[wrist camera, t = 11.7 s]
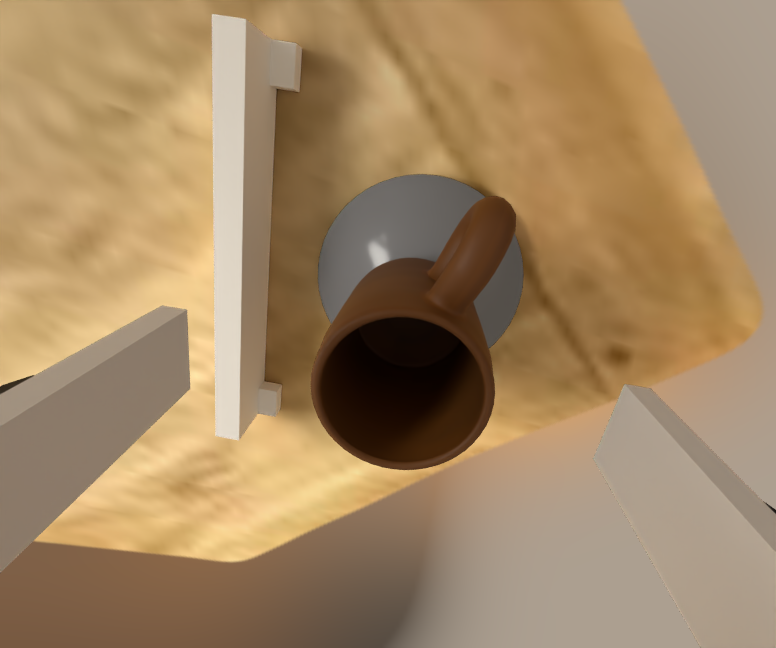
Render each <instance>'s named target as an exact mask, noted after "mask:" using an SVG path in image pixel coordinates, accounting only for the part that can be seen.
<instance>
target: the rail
mask: <svg viewBox="0 0 776 648" xmlns="http://www.w3.org/2000/svg"><path fill="white" fill-rule="evenodd" d="M301 60H302V48H301V47H300V46H299V45H298V44H297V43H293V42H286V41H280V40H273V39H271V38H269V37H268V36H267V35H265V34H264V33H263V32H262V31H260V30H259V29H258V28H257V27H255V26H254V25H253V24H252V23H250V22H249V21H248V20H247V19H243V18H236V17H229V16H223V15H216V14H212V92H213V201H214V311H215V420H216V436H218V437H224V438H229V439H234V440H240V438H241V437H242V435H243V434H244V433H245V431H246V430H247V428H248V427H249V425H250V424H251V423H252V421H253V420H254V418H255V417H256V415H257V414H264V415H269V416H275V417H276V415H277V414H278V412H279V410H280V409H281V392H282V384H277V383H271V382H266V381H264V379H265V355H266V331H267V308H268V284H269V260H270V236H271V212H272V188H273V164H274V140H275V117H276V93H277V89H282V90H288V91H295V92H300V77H301Z"/></svg>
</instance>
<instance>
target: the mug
mask: <svg viewBox="0 0 776 648" xmlns="http://www.w3.org/2000/svg"><path fill="white" fill-rule="evenodd" d="M515 227H516V214H515V212H514V210H513V208H512V206H511V205H510V204H509V203H508V202H507V201H506V200H505V199H504V198H501V197H497V196H490V197H485V198H483V199H481V200H479V201H477V202H476V203H475V204H474V205H473V206H472V207H471V208H470V209H469V210H468V212H467V213H466V214H465V215H464V217H463V218H462V220H461V221H460V222H459V224H458V225H457V227H456V228H455V230H454V232H453V233H452V235H451V237H450V238H449V240H448V242H447V243H446V245H445V247H444V249H443V250H442V252H441V254H440V256H439V257H438V259H437V261H436V262H433V261H430V260H427V259H421V258H399V259H395V260H391V261H388V262H386V263H383V264H381V265H379V266H377V267H376V268H374V269H373V270H371V271H370V272H369V273H368V274H367V275H366V276H365V277H364V278H362V279H361V281H360V282H359V283H358V284H357V286H356V287H355V288H354V290H353V292H352V293H351V295H350V296H349V298H348V299H347V300H346V302H345V303H344V305H343V307H342V308H341V310H340V311H339V313H338V315H337V316H336V318H335V319H334V321H333V322H332V324H331V326H330V328H329V329H328V331H327V333H326V335H325V337H324V339H323V342H322V344H321V347H320V349H319V351H318V354H317V357H316V359H315V362H314V365H313V369H312V373H311V395H312V400H313V404H314V407H315V410H316V413H317V415H318V418H319V419H320V421H321V423H322V425H323V427H324V428H325V429H326V431H327V432H328V434H329V435H330V436H331V437H332V438H333V439H334V440H335V441H336V442H337V443H338V444H339V445H340V446H341V447H342V448H343V449H345V450H346V451H348V452H349V453H351V454H352V455H354V456H356V457H357V458H359V459H361V460H363V461H366V462H368V463H371V464H373V465H377V466H380V467H385V468H390V469H399V470H416V469H423V468H428V467H432V466H436V465H439V464H442V463H444V462H447V461H449V460H451V459H453V458H455V457H456V456H458V455H459V454H461V453H462V452H464V451H465V450H466V449H467V448H468V447H470V446H471V445H472V444H473V443H474V442H475V440H476V439H477V438H478V437H479V436H480V434H481V433H482V431H483V430H484V428H485V427H486V425H487V423H488V420H489V418H490V416H491V413H492V409H493V405H494V398H495V385H494V377H493V368H492V361H491V356H490V352H489V348H488V345H487V341H486V338H485V335H484V332H483V329H482V326H481V323H480V320H479V317H478V314H477V312H476V308H475V305H474V303H473V301H474V300H475V299H476V298H477V296H478V295H479V294H480V292H481V291H482V290H483V289H484V287H485V286H486V285H487V283H488V282H489V281H490V279H491V278H492V276H493V275H494V273H495V272H496V270H497V268H498V266H499V265H500V263H501V261H502V260H503V258H504V256H505V254H506V252H507V250H508V248H509V246H510V244H511V241H512V238H513V236H514V233H515Z"/></svg>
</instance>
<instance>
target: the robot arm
mask: <svg viewBox="0 0 776 648" xmlns="http://www.w3.org/2000/svg"><path fill="white" fill-rule="evenodd" d="M189 389H190V371H189V346H188V322H187V310H186V309H180V308H174V307H168V306H160V307H158V308H157V309H155V310H153V311H151V312H149V313H147V314H146V315H144V316H142V317H140V318H138V319H137V320H135V321H133V322H131V323H129V324H127V325H126V326H124V327H122V328H120V329H118V330H117V331H115V332H113V333H111V334H109V335H107V336H106V337H104V338H102V339H100V340H98V341H97V342H95V343H93V344H91V345H89V346H87V347H86V348H84V349H82V350H80V351H78V352H77V353H75V354H73V355H71V356H69V357H67V358H66V359H64V360H62V361H60V362H58V363H57V364H55V365H53V366H51V367H49V368H47V369H46V370H44V371H42V372H40V373H38V374H36V375H32V376H29V377H26V378H23V379H20V380H17V381H14V382H11V383H8V384H5V385H2V386H1V387H0V573H1V571H3V570H4V569H5V568H6V567H7V566H8V565H9V564H10V563H11V562H12V561H13V560H14V559H15V558H16V557H17V556H18V555H19V554H20V553H21V552H22V551H23V550H24V549H25V548H26V547H27V546H28V545H29V544H30V543H31V542H33V541H34V540H35V539H36V538H37V537H38V536H39V535H40V534H41V533H42V532H43V531H44V530H45V529H46V528H47V527H48V526H49V525H50V524H51V523H52V522H53V521H54V520H55V519H56V518H57V517H58V516H59V515H60V514H61V513H62V512H63V511H64V510H65V509H67V508H68V507H69V506H70V505H71V504H72V503H73V502H74V501H75V500H76V499H77V498H78V497H79V496H80V495H81V494H82V493H83V492H84V491H85V490H86V489H87V488H88V487H89V486H90V485H91V484H92V483H93V482H94V481H95V480H96V479H97V478H98V477H100V476H101V475H102V474H103V473H104V472H105V471H106V470H107V469H108V468H109V467H110V466H111V465H112V464H113V463H114V462H115V461H116V460H117V459H118V458H119V457H120V456H121V455H122V454H123V453H124V452H125V451H126V450H127V449H128V448H129V447H130V446H131V445H132V444H134V443H135V442H136V441H137V440H138V439H139V438H140V437H141V436H142V435H143V434H144V433H145V432H146V431H147V430H148V429H149V428H150V427H151V426H152V425H153V424H154V423H155V422H156V421H157V420H158V419H159V418H160V417H161V416H162V415H163V414H164V413H165V412H167V411H168V410H169V409H170V408H171V407H172V406H173V405H174V404H175V403H176V402H177V401H178V400H179V399H180V398H181V397H182V396H183V395H184V394H185V393H186V392H187V391H188V390H189ZM593 459H594V461H595V463H596V465H597V466H598V468H599V470H600V472H601V473H602V475H603V477H604V479H605V481H606V482H607V484H608V486H609V488H610V489H611V491H612V493H613V495H614V497H615V498H616V500H617V502H618V504H619V505H620V507H621V509H622V511H623V512H624V514H625V516H626V518H627V519H628V521H629V523H630V525H631V526H632V528H633V530H634V532H635V534H636V535H637V537H638V539H639V541H640V542H641V544H642V546H643V548H644V549H645V551H646V553H647V555H648V556H649V558H650V560H651V561H652V564H653V565H654V567H655V569H656V570H657V572H658V574H659V576H660V578H661V579H662V581H663V583H664V584H665V586H666V588H667V590H668V592H669V593H670V595H671V597H672V599H673V601H674V602H675V604H676V606H677V608H678V609H679V611H680V613H681V615H682V616H683V618H684V620H685V622H686V623H687V625H688V627H689V629H690V630H691V632H692V634H693V636H694V637H695V639H696V641H697V643H698V645H699V646H700V648H776V510H775V509H774V508H772V507H771V506H769V505H768V504H767V503H765V502H764V501H762V500H761V499H760V498H759V497H758V496H757V495H756V494H755V493H754V492H753V491H752V490H751V489H750V488H749V487H748V486H747V485H746V484H745V483H744V482H743V481H742V480H741V479H740V478H739V477H738V476H737V475H736V474H735V473H734V472H733V471H732V470H731V469H730V468H729V467H728V466H727V465H726V464H725V463H724V462H723V461H722V460H721V459H720V458H719V457H718V456H717V455H716V454H715V453H714V452H713V451H712V450H711V449H710V448H709V447H708V446H707V445H706V444H705V443H704V442H703V441H702V440H701V439H700V438H699V437H698V436H697V435H696V434H695V433H694V432H693V431H692V430H691V429H690V428H689V426H687V425H686V424H685V423H684V422H683V420H682V419H680V418H679V416H677V414H676V413H675V412H674V411H673V410H672V409H671V408H669V406H668V405H666V403H665V402H664V401H663V400H661V398H660V397H659V396H658V395H657V394H656V393H655V392H654V391H653V390H652V389H650V388H645V387H639V386H633V385H627V384H624V386H623V389H622V391H621V393H620V396H619V398H618V401H617V403H616V405H615V408H614V410H613V412H612V415H611V417H610V419H609V422H608V424H607V427H606V429H605V431H604V434H603V436H602V439H601V441H600V444H599V446H598V448H597V450H596V453H595V455H594V458H593Z"/></svg>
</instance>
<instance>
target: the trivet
mask: <svg viewBox="0 0 776 648" xmlns="http://www.w3.org/2000/svg"><path fill="white" fill-rule="evenodd" d="M483 198H485V196H484V195H482V194H481V193H480V192H478V191H477V190H475V189H473V188H471V187H469V186H468V185H466V184H464V183H461V182H459V181H456V180H453V179H450V178H446V177H442V176H438V175H427V174H416V175H406V176H400V177H395V178H392V179H389V180H386V181H383V182H380V183H378V184H376V185H374V186H372V187H370V188H368V189H367V190H365V191H364V192H362V193H361V194H359V195H358V196H356V197H355V198H354V199H353V200H352V201H351V202H350V203H348V204H347V205H346V206H345V207H344V209H343V210H342V211H341V212H340V213H339V215H338V216H337V217H336V219H335V220H334V222H333V223H332V225H331V227H330V228H329V230H328V233H327V235H326V237H325V239H324V242H323V245H322V249H321V252H320V257H319V264H318V284H319V292H320V296H321V300H322V304H323V307H324V309H325V312H326V314H327V317H328V318H329V320H330V322H331V324H332V322H333V321H334V319H335V318H336V316H337V315H338V313H339V311H340V310H341V308H342V307H343V305H344V303H345V302H346V300H347V299H348V298H349V296H350V295H351V293H352V292H353V290H354V288H355V287H356V286H357V284H358V283H359V282H360V281H361V279H362V278H364V277H365V276H366V275H367V274H368V273H369V272H370V271H371V270H373V269H374V268H376V267H377V266H379V265H381V264H383V263H386V262H388V261H391V260H395V259H399V258H421V259H427V260H430V261H433V262H436V261H437V259H438V257H439V256H440V254H441V252H442V250H443V249H444V247H445V245H446V243H447V242H448V240H449V238H450V237H451V235H452V233H453V232H454V230H455V228H456V227H457V225H458V224H459V222H460V221H461V220H462V218H463V217H464V215H465V214H466V213H467V212H468V210H469V209H470V208H471V207H472V206H473V205H474V204H475V203H476V202H477V201H479V200H481V199H483ZM522 288H523V261H522V256H521V251H520V247H519V244H518V241H517V239H516V236H515V233H514V236H513V238H512V241H511V244H510V246H509V248H508V250H507V252H506V254H505V256H504V258H503V260H502V261H501V263H500V265H499V266H498V268H497V270H496V272H495V273H494V275H493V276H492V278H491V279H490V281H489V282H488V283H487V285H486V286H485V287H484V289H483V290H482V291H481V292H480V294H479V295H478V296H477V298H476V299H475V300H474V301H473V303H474V305H475V308H476V312H477V314H478V317H479V320H480V323H481V326H482V329H483V332H484V335H485V338H486V341H487V345H488V348H490V347H491V346H492V345H494V343H495V342H496V341H497V340H498V339H499V338H500V337H501V336H502V334H503V333H504V332H505V330H506V329H507V327H508V326H509V324H510V322H511V320H512V318H513V317H514V315H515V313H516V310H517V307H518V304H519V301H520V297H521V292H522Z"/></svg>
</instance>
